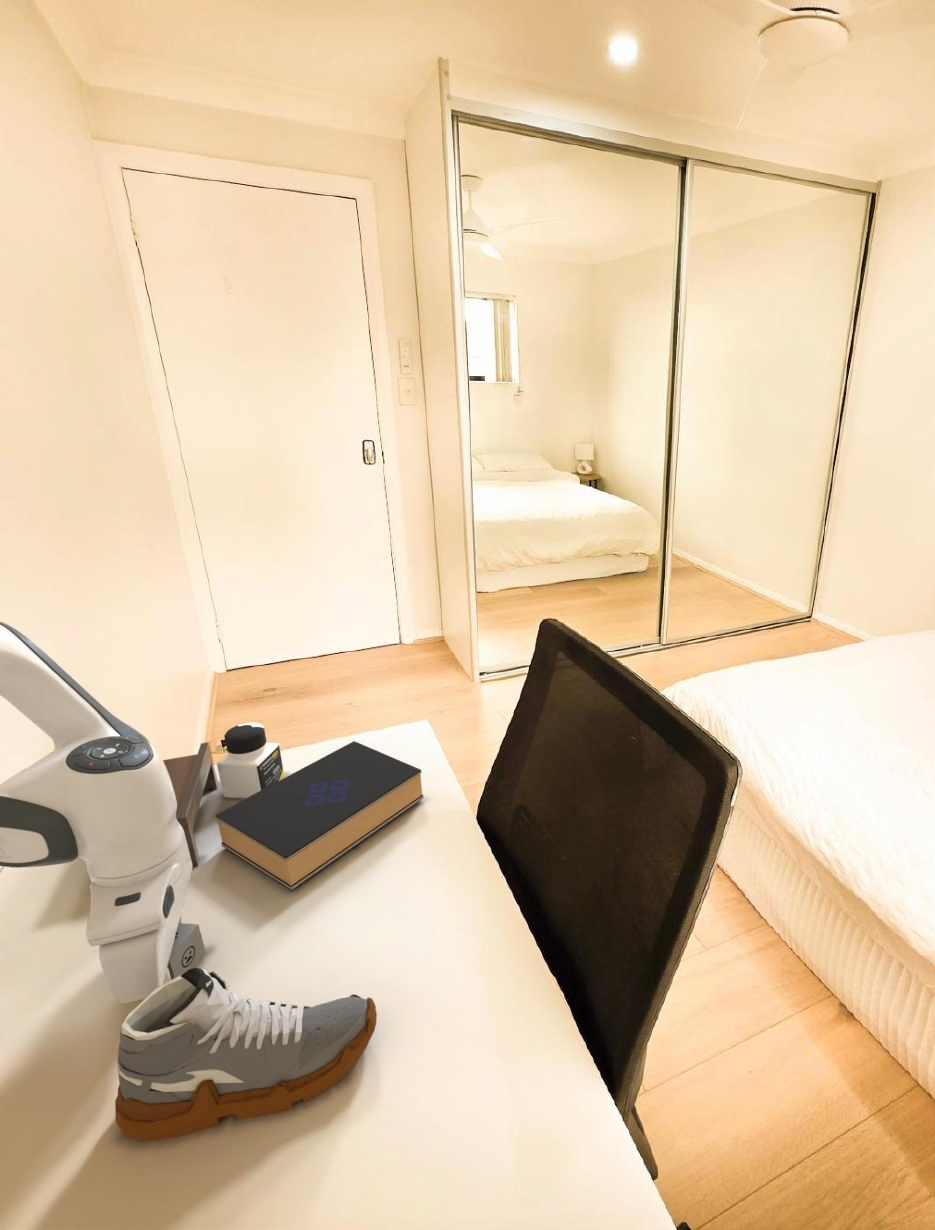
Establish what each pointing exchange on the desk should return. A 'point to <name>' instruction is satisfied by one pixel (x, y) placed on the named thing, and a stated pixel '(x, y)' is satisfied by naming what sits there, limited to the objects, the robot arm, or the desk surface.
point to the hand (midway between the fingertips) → (169, 960)
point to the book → (319, 812)
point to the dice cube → (186, 949)
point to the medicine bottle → (249, 761)
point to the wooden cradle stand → (191, 789)
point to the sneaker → (228, 1055)
